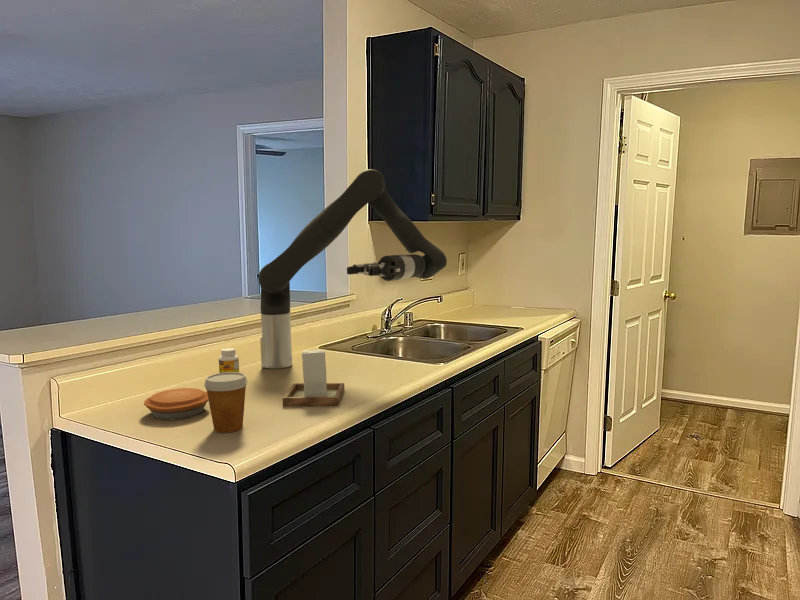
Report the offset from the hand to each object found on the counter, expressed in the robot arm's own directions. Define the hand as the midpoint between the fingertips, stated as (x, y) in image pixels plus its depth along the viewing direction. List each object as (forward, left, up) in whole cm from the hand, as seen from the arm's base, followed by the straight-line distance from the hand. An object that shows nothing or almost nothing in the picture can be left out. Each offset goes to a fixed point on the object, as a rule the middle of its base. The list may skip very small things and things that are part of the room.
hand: (358, 271), depth 174 cm
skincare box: (-11, -15, -32) cm, 37 cm away
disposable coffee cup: (-27, -39, -32) cm, 57 cm away
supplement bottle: (-38, -1, -32) cm, 50 cm away
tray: (-11, -16, -32) cm, 37 cm away
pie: (-43, -27, -32) cm, 60 cm away
